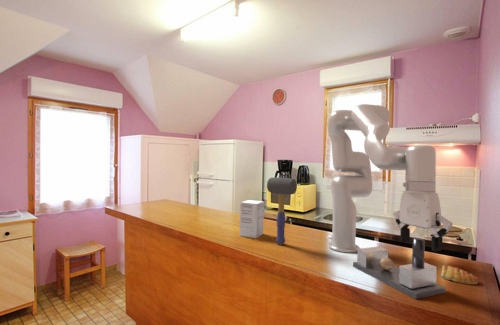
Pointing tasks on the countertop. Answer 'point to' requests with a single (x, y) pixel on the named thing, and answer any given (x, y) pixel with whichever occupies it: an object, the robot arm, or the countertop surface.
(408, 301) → the countertop surface
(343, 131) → the robot arm
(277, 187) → the rubber mallet
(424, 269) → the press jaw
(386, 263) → the tan wooden ball
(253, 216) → the supplement box
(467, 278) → the pastry
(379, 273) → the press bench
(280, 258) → the countertop surface
